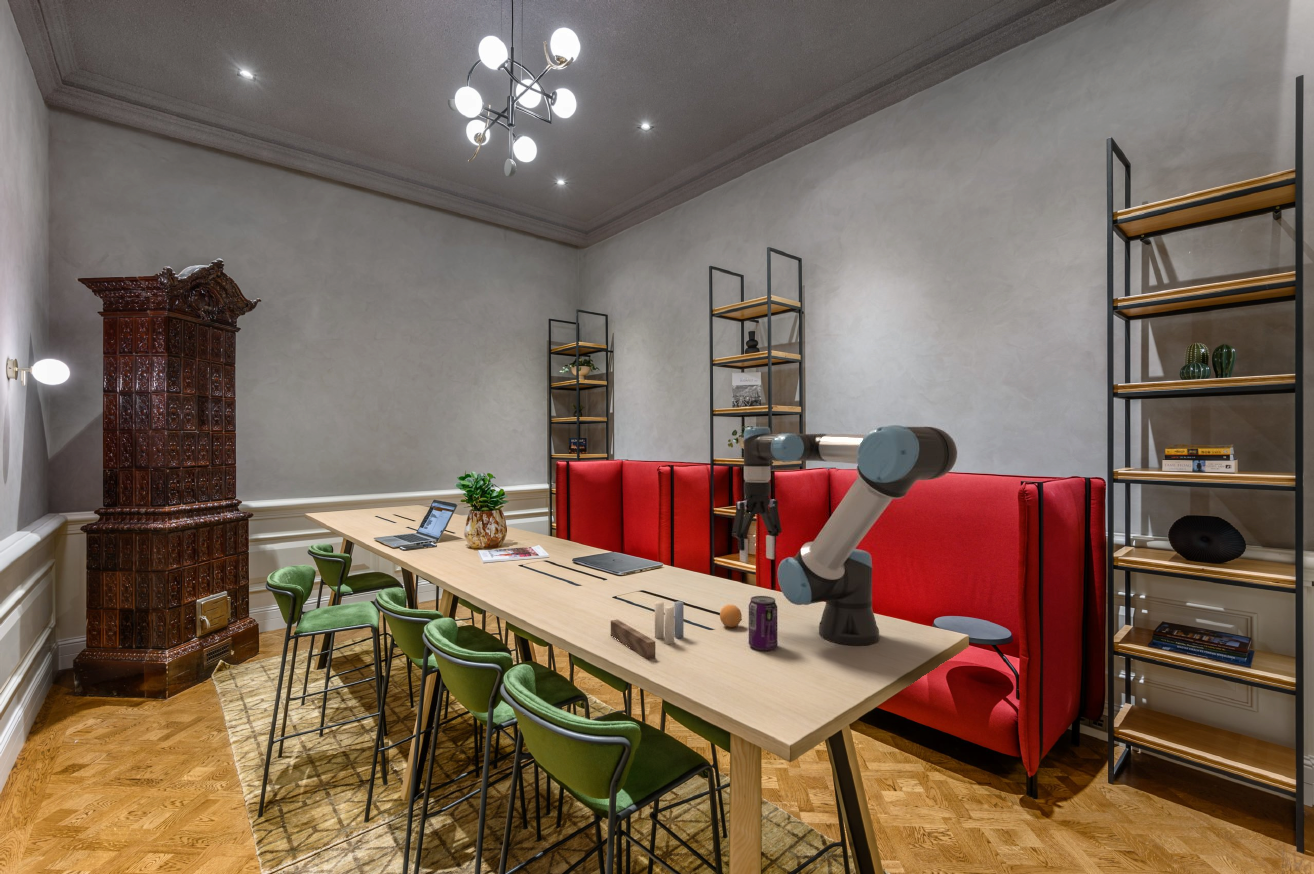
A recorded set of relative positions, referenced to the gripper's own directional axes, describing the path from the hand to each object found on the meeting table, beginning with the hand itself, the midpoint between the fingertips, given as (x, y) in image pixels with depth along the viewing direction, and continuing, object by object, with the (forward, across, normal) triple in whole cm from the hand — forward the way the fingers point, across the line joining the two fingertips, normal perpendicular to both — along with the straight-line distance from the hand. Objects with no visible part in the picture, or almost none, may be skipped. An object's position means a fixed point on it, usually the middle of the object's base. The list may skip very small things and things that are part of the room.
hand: (757, 560), depth 168 cm
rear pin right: (+17, +31, -3) cm, 36 cm away
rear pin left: (+17, +31, +2) cm, 36 cm away
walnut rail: (+17, +40, 0) cm, 44 cm away
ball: (+14, +10, 0) cm, 17 cm away
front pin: (+17, +26, 0) cm, 32 cm away
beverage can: (+18, +12, +17) cm, 28 cm away
